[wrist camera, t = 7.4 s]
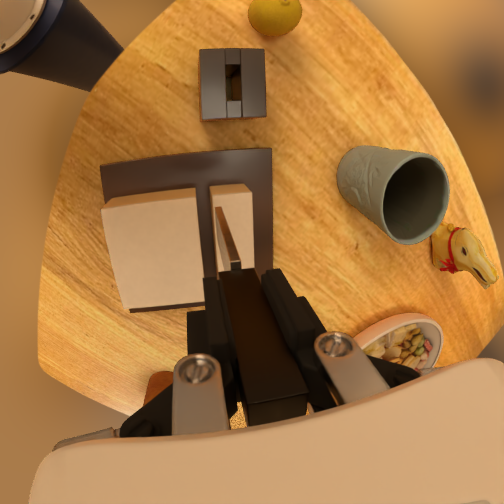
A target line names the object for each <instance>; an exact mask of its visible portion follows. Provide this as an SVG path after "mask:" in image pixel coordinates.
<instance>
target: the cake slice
mask: <svg viewBox="0 0 504 504" xmlns="http://www.w3.org/2000/svg"><path fill="white" fill-rule="evenodd" d="M209 188H210V202H211V215H212V228H213V240H214V251H215V262H216V273H217V280H219V277H218V272H221V271H224V267H223V263H222V259H221V254H220V250H219V246H218V241H217V231H216V219H215V207H219V206H221V207H222V210H223V212H224V215H225V218H226V221H227V223H228V226H229V229H230V231H231V234H232V237H233V240H234V242H235V245H236V248H237V250H238V253H239V256H240V258H241V263H242V269H246V268H254V236H253V203H252V192H251V191H250V190H249V189H248V188H247V187H246V186H245V184H231V185H218V186H210V187H209Z"/></svg>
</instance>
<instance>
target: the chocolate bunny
mask: <svg viewBox="0 0 504 504" xmlns="http://www.w3.org/2000/svg"><path fill="white" fill-rule="evenodd" d="M431 240H432V256H433V264H434V266H435V267H436V268H438V269H440V271H449V272H450V273H452V274H454V272H455V273H456V272H458V271H463V270H465V271H468V272H470V273H471V274H472V275H473V276H474V277H475V278H476V279H477V281H478V282H479V283H480V284H481V285H482V287H483V288H484V289H487V288H488V287H489V286H490V284H494V283H495V282H496V281H497V280H498V279H499V276H498V274H497V270H496V268H495V267H494V265H493V264H492V263H491V261H490V260H489V259H488V258H487V255H486V252H485V250H484V248H483V246H482V244H481V242H480V240H479V239H478V237H477V236H476V235H475V234H474V233H473V232H472V231H471V230H470V229H468V228H459V227H455V226H454V225H453V224H447V223H445V222H443V221H442V222H441V223H440V225H439V226H438V228H437V229H436V230H435V231H434V232H433V233H432V234H431Z"/></svg>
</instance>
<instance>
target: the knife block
mask: <svg viewBox="0 0 504 504" xmlns="http://www.w3.org/2000/svg"><path fill="white" fill-rule="evenodd" d="M226 77H231V91H232V101H226ZM198 84H199V111H200V122H206V121H220V120H242V119H256V118H264V117H266V116H267V114H266V81H265V53H264V49H252V48H241V49H240V48H225V49H224V48H221V49H200V50H199V60H198Z"/></svg>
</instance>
